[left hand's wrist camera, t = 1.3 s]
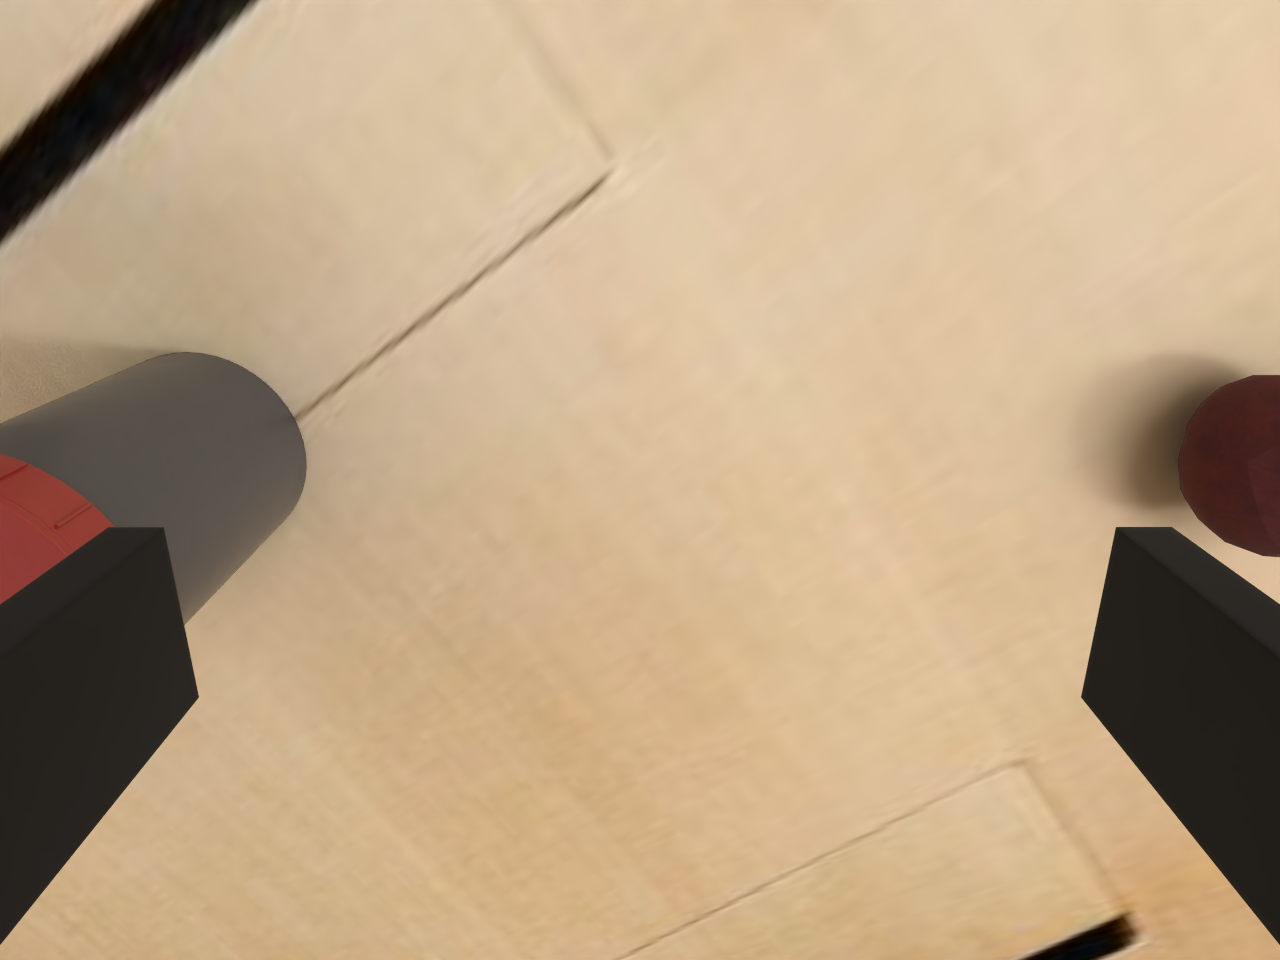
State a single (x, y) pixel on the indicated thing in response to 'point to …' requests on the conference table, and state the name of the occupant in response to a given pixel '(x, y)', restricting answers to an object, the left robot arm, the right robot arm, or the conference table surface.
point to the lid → (39, 523)
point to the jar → (175, 459)
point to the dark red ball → (1236, 464)
